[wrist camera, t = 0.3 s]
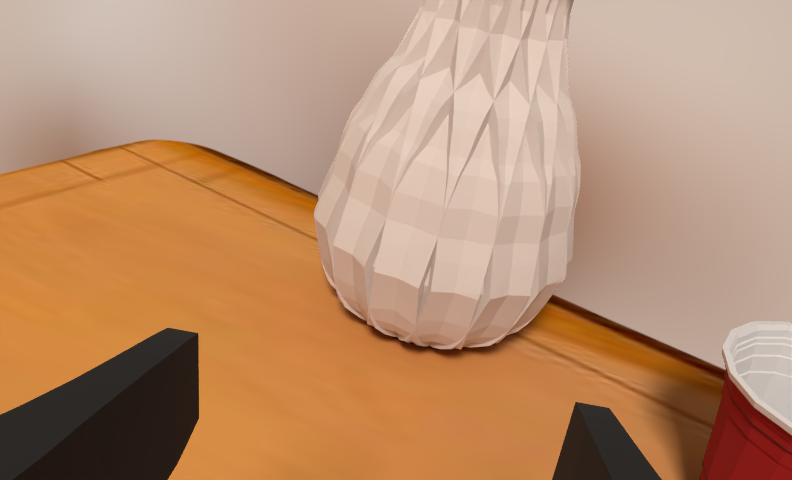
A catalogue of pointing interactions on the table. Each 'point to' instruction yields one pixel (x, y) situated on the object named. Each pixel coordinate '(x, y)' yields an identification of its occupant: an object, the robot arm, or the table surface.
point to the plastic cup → (754, 406)
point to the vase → (457, 177)
